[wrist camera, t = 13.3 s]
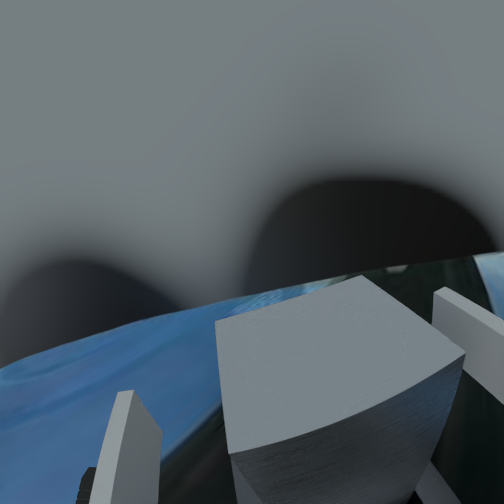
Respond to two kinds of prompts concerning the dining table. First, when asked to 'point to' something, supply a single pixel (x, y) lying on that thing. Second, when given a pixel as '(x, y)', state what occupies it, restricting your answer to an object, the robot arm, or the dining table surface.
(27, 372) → the dining table surface
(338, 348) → the grey upright post
